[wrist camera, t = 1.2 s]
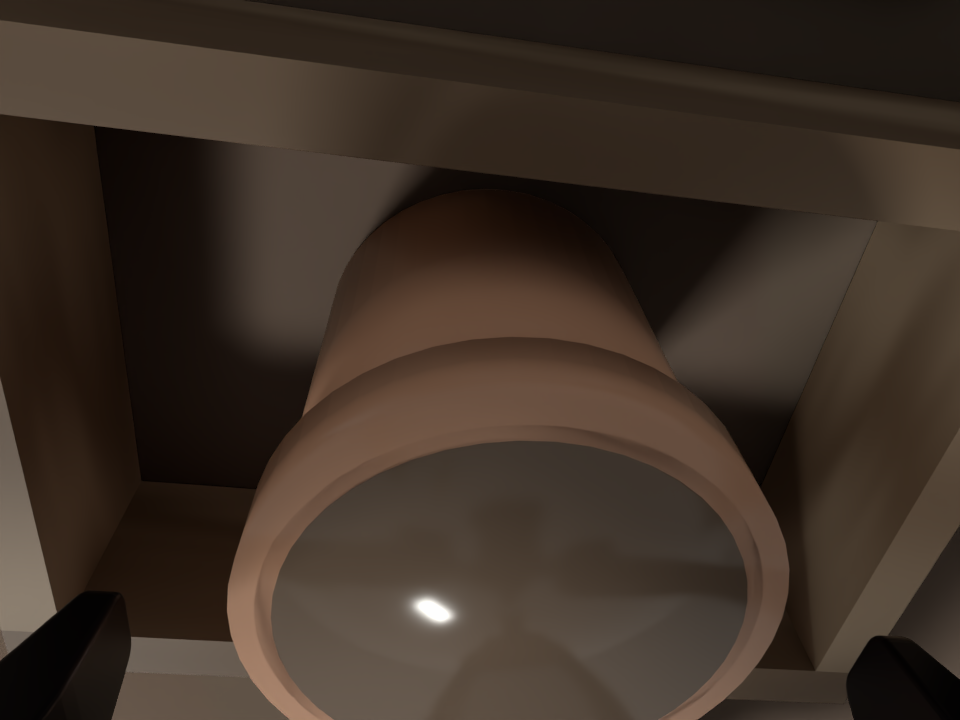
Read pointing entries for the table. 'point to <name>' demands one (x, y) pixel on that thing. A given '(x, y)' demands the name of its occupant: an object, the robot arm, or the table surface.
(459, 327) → the terracotta pot
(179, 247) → the table surface
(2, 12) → the frame
